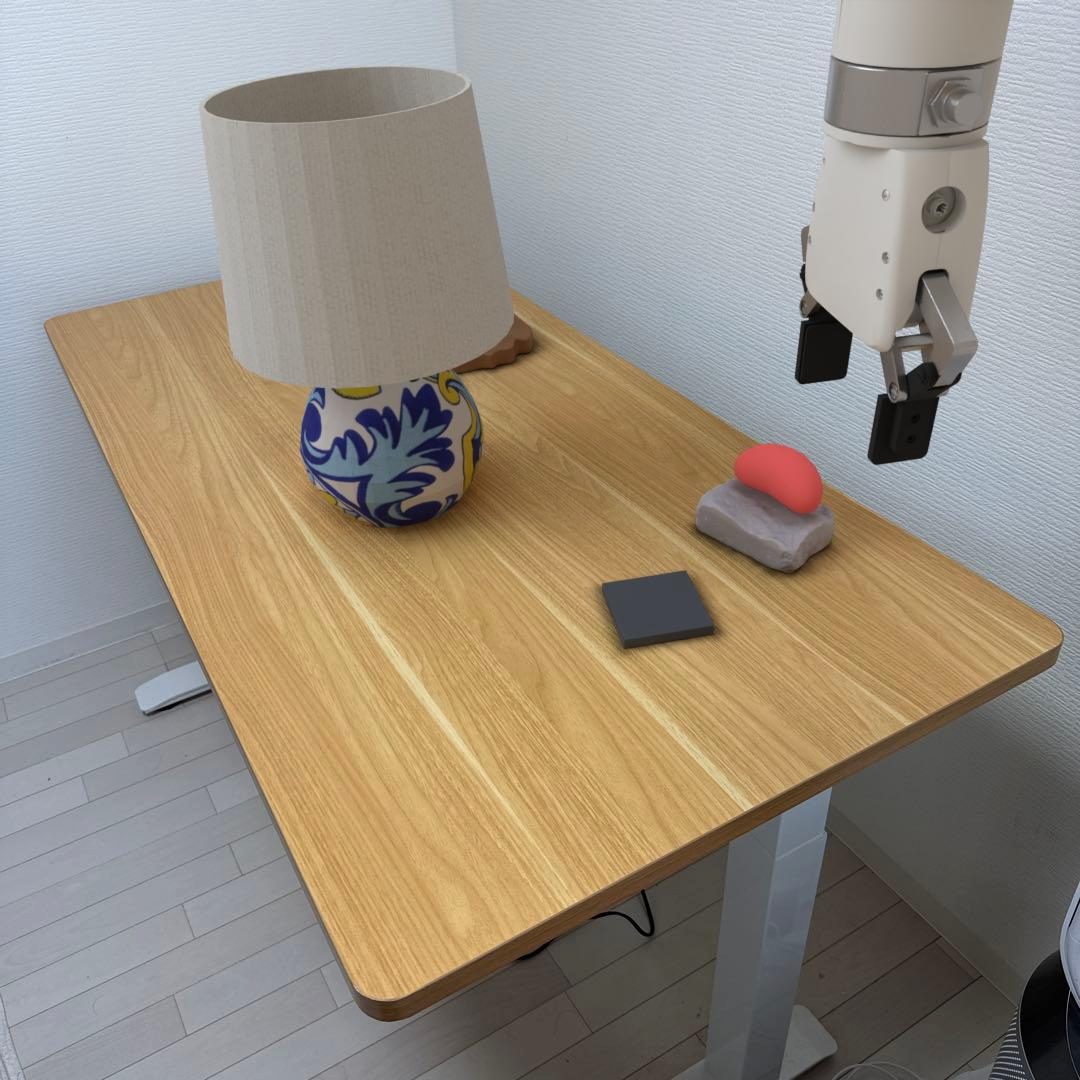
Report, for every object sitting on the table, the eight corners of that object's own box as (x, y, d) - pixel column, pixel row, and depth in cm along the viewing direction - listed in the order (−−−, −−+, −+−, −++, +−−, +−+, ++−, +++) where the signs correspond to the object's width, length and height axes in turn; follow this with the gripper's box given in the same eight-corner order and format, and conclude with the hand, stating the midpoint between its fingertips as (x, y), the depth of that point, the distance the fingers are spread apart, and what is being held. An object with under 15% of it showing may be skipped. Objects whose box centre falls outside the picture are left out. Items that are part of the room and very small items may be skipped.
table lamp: (288, 440, 114) (203, 73, 91) (515, 419, 116) (488, 52, 92) (257, 580, 92) (133, 143, 69) (537, 552, 94) (510, 115, 70)
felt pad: (685, 578, 89) (686, 569, 89) (713, 634, 83) (714, 625, 82) (601, 591, 89) (601, 583, 88) (624, 648, 82) (624, 640, 82)
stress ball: (779, 482, 97) (757, 429, 95) (845, 494, 89) (823, 436, 87) (743, 511, 96) (720, 457, 93) (806, 525, 88) (783, 468, 85)
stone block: (744, 505, 102) (684, 529, 95) (754, 464, 99) (694, 486, 93) (840, 556, 95) (783, 585, 88) (854, 513, 92) (796, 539, 86)
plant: (366, 334, 138) (354, 258, 132) (491, 306, 145) (485, 232, 138) (411, 389, 124) (399, 306, 117) (548, 356, 130) (544, 275, 123)
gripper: (1098, 132, 39) (1000, 486, 49) (894, 60, 53) (850, 348, 63) (926, 149, 38) (862, 507, 48) (764, 72, 52) (740, 362, 62)
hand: (855, 416), depth 56 cm, fingers open, 9 cm apart
